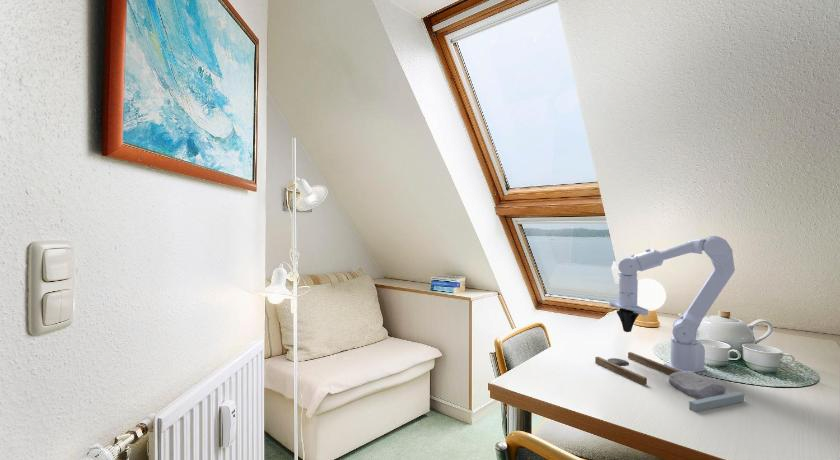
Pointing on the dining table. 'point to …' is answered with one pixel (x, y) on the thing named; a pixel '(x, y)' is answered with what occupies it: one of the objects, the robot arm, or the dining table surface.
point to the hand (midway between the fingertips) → (627, 331)
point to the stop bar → (716, 401)
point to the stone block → (696, 384)
